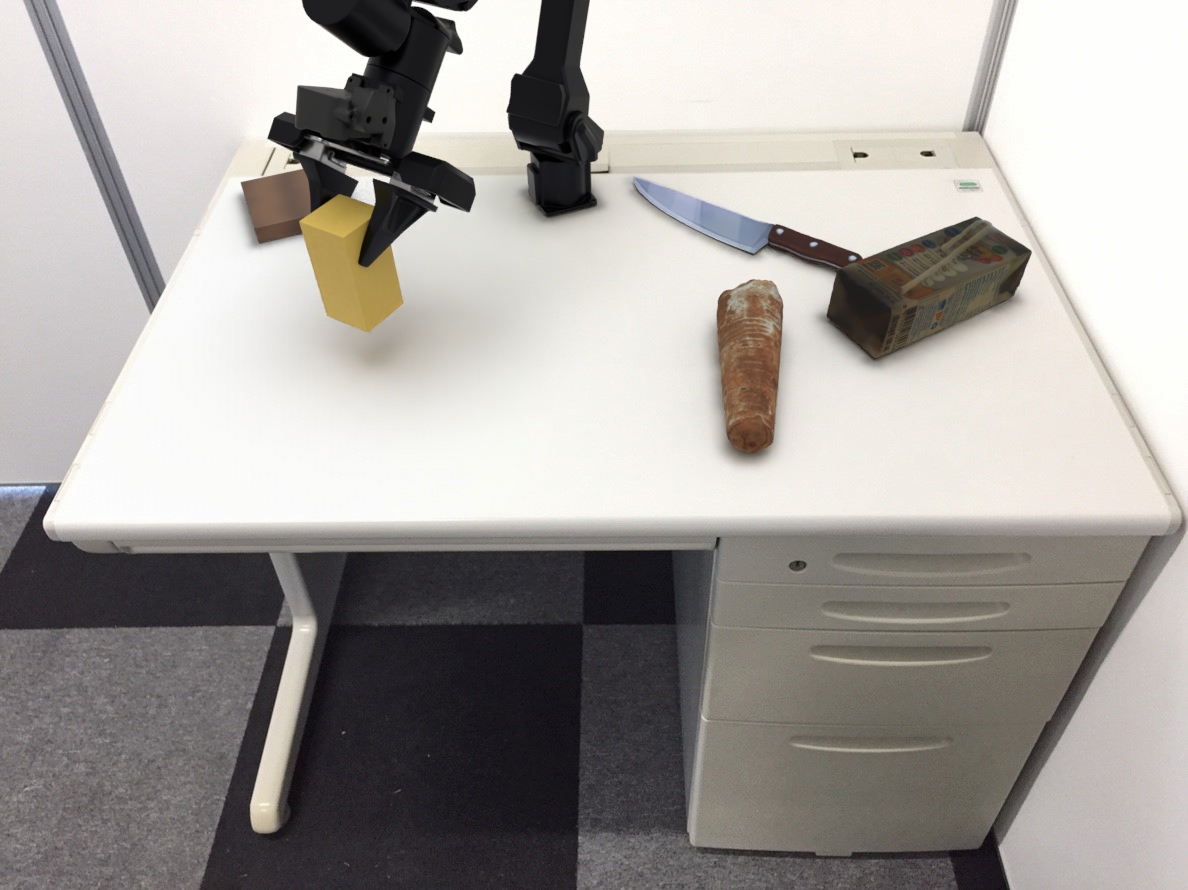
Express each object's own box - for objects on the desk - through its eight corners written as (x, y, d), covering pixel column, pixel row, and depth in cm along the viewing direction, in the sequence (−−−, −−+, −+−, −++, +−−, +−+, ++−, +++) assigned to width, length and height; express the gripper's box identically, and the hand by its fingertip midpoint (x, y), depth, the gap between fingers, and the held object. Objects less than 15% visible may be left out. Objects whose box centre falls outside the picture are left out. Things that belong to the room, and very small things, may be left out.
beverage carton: (1019, 300, 93) (1040, 244, 88) (875, 365, 86) (890, 309, 82) (960, 261, 98) (977, 206, 93) (820, 320, 91) (831, 265, 86)
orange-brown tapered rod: (779, 324, 91) (787, 277, 87) (777, 463, 78) (786, 416, 74) (715, 319, 92) (720, 273, 88) (702, 456, 78) (707, 409, 74)
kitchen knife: (844, 288, 94) (848, 272, 93) (610, 200, 109) (610, 185, 107) (866, 269, 97) (869, 254, 95) (634, 185, 111) (634, 171, 110)
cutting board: (336, 177, 113) (332, 162, 111) (355, 221, 106) (352, 206, 104) (245, 196, 110) (240, 181, 109) (258, 243, 103) (253, 228, 101)
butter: (363, 287, 87) (339, 193, 80) (404, 303, 85) (383, 208, 78) (326, 316, 84) (298, 221, 77) (368, 333, 82) (343, 237, 75)
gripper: (250, 15, 74) (190, 201, 75) (433, 62, 66) (363, 266, 68) (339, 73, 84) (285, 236, 85) (506, 120, 77) (443, 296, 78)
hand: (339, 257), depth 79 cm, fingers closed on butter, 5 cm apart
